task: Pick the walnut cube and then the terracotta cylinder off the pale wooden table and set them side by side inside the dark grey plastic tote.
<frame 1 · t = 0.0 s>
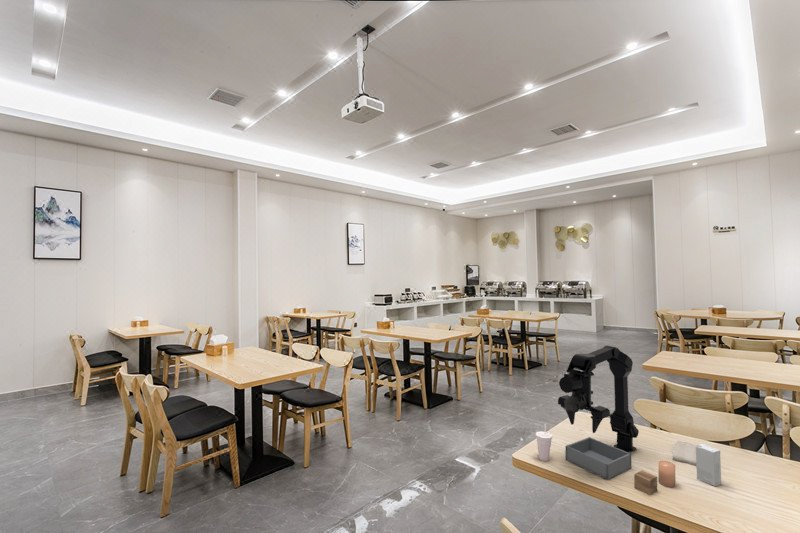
hand: (582, 428, 155), 15 cm above the table, fingers open, 9 cm apart
cube: (645, 489, 139), on the table
washcloth: (691, 457, 162), on the table
cylinder: (666, 483, 143), on the table
smoothie: (543, 459, 161), on the table
skincare box: (708, 481, 144), on the table
tote: (597, 464, 156), on the table
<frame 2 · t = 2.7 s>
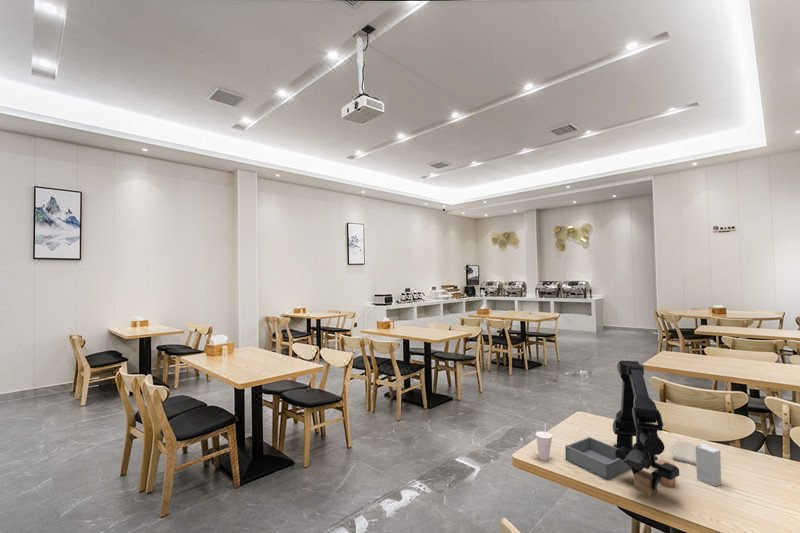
hand: (645, 486, 139), 1 cm above the table, fingers closed on cube, 5 cm apart
cube: (645, 489, 139), on the table, touching gripper
everything else where it was.
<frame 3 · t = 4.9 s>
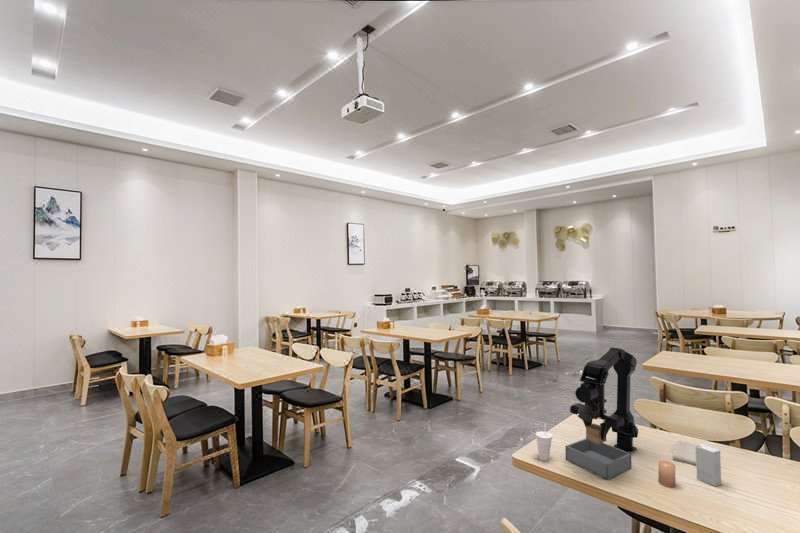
hand: (596, 437, 153), 12 cm above the table, fingers closed on cube, 5 cm apart
cube: (596, 440, 153), point 11 cm above the table, touching gripper
everything else where it was.
when the fingers open (4 cm above the table, at t = 6.9 s): cube drops 3 cm, resting on tote.
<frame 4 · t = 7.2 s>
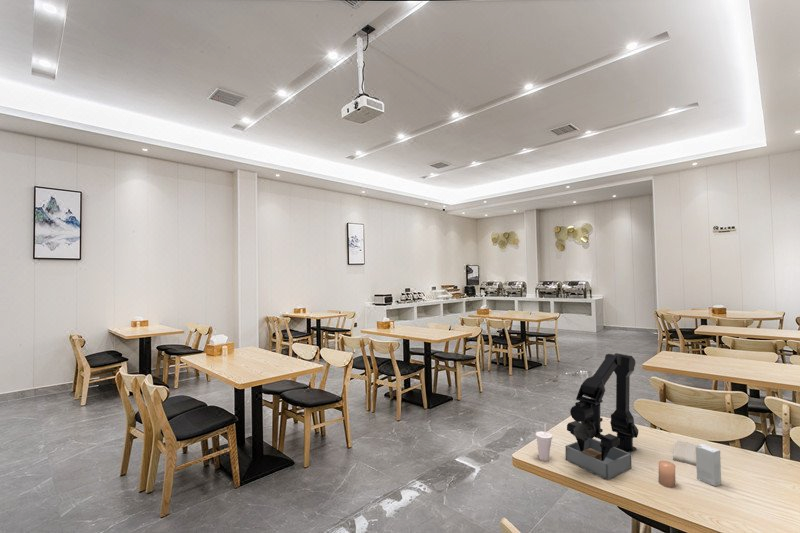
hand: (592, 455, 155), 4 cm above the table, fingers open, 8 cm apart
cube: (592, 465, 155), point 1 cm above the table, touching tote
everything else where it was.
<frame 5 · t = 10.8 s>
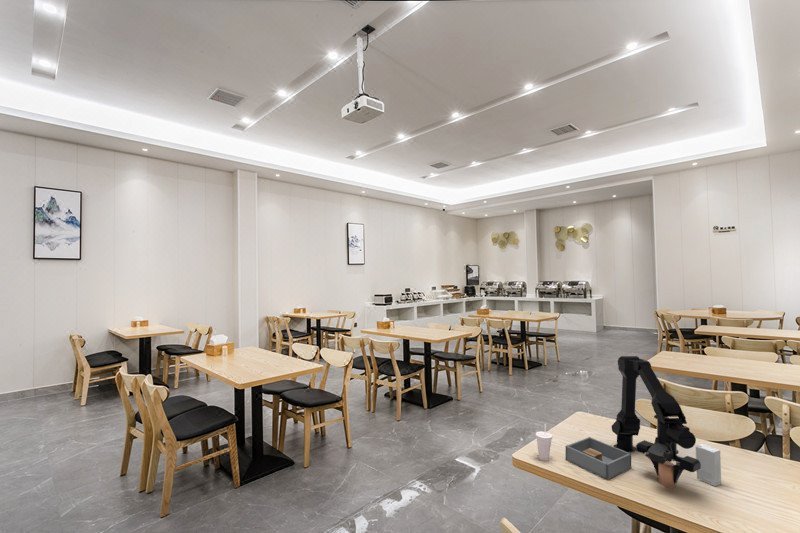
hand: (666, 479, 143), 2 cm above the table, fingers closed on cylinder, 5 cm apart
cylinder: (666, 483, 143), on the table, touching gripper
everything else where it was.
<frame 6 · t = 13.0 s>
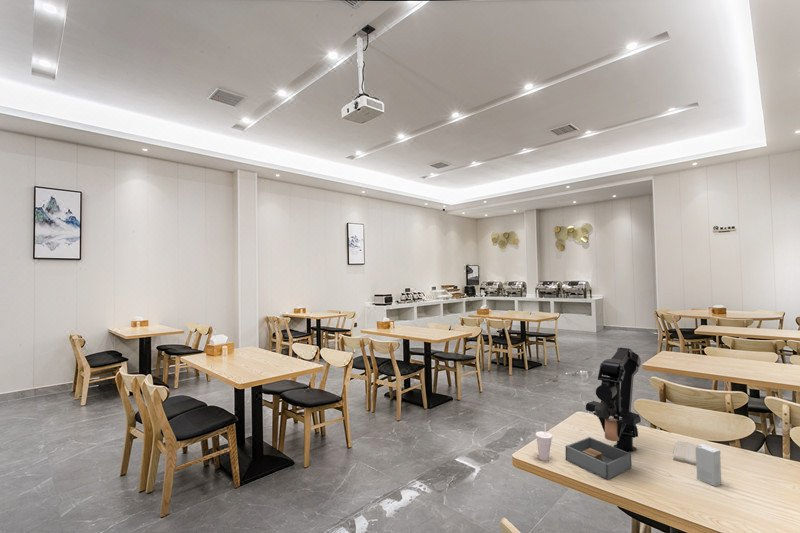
hand: (612, 434, 156), 12 cm above the table, fingers closed on cylinder, 5 cm apart
cylinder: (612, 438, 156), point 10 cm above the table, touching gripper
everything else where it was.
when the fingers open (5 cm above the table, at t = 15.0 s): cylinder drops 2 cm, resting on tote.
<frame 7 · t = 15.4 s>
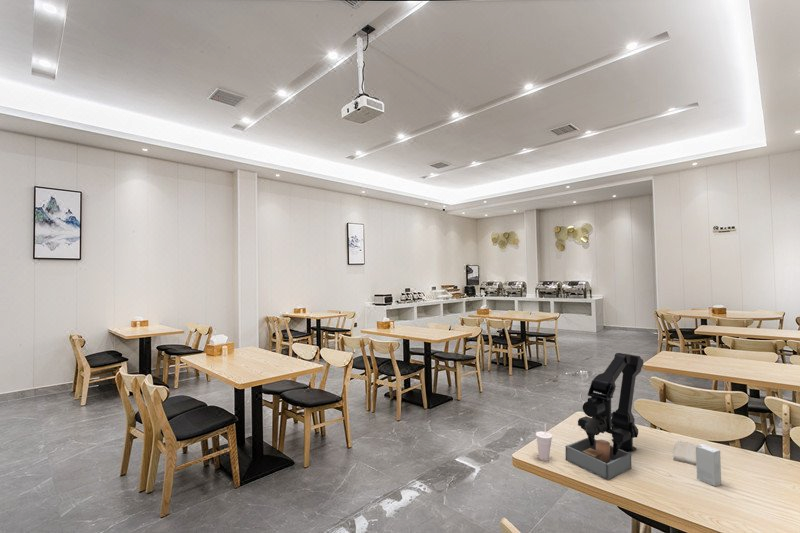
hand: (603, 450, 158), 5 cm above the table, fingers open, 9 cm apart
cylinder: (602, 460, 158), point 1 cm above the table, touching tote
everything else where it was.
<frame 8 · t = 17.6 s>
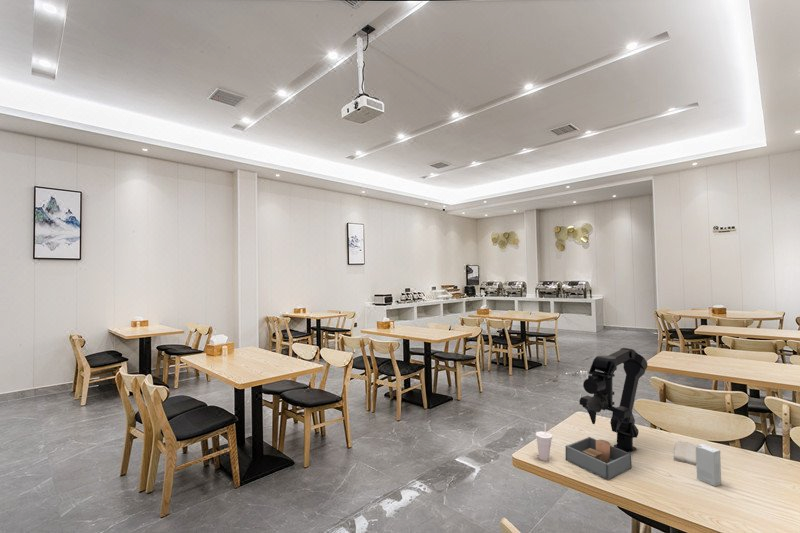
hand: (604, 427, 160), 12 cm above the table, fingers open, 9 cm apart
nothing on the table moved.
at the end: cube inside the target area on the tote (3.5 cm from its centre), point 0.6 cm above the tote's base; cylinder inside the target area on the tote (3.4 cm from its centre), point 0.6 cm above the tote's base; the gripper is holding nothing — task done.
